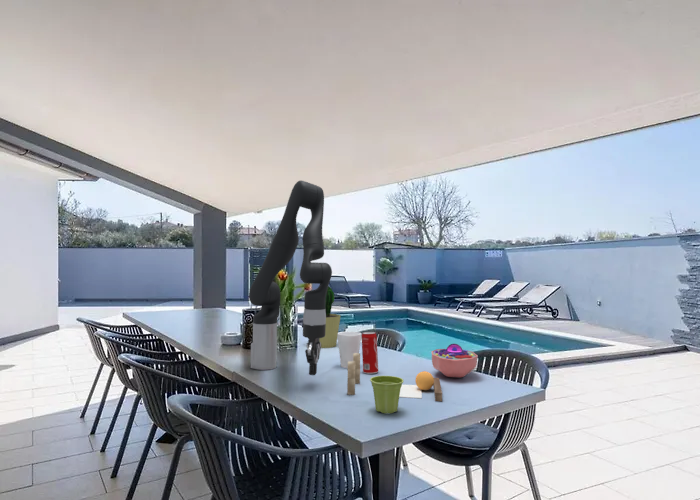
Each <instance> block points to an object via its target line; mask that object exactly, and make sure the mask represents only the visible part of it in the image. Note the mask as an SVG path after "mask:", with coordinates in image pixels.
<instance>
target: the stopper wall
mask: <svg viewBox="0 0 700 500" xmlns="http://www.w3.org/2000/svg"><path fill="white" fill-rule="evenodd" d="M433 378H434V384H433V386H432V388H433V392H434V393H433V394H434V401H435V402H443V391H442V385H441V381H440V377H433Z"/></svg>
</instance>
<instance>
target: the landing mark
mask: <svg viewBox="0 0 700 500" xmlns="http://www.w3.org/2000/svg"><path fill="white" fill-rule="evenodd" d="M422 391H423V390H421V389H420V388H418V386H417V385H416V384H403V383H402V386H401V389H400V395H399V398H408V399H422V398H423V396H422V395H423V393H422Z"/></svg>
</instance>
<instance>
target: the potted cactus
mask: <svg viewBox="0 0 700 500" xmlns="http://www.w3.org/2000/svg"><path fill="white" fill-rule="evenodd" d="M331 286H332V285H331ZM331 286H330V285H328V289H327V293H326V305H325V312H326V329H325V337H323V338H319V339H320V341H319V342H321V349H330V348H335V347H337V342H338V339H337V333H339V330H340V329H339V328H340V322H341V315H340V314H336V313H332V309H334V308H333V306H334V305H333V304H334V303H335V296H336V294H335V291H334V290H333V287H331Z"/></svg>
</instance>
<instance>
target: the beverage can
mask: <svg viewBox="0 0 700 500" xmlns="http://www.w3.org/2000/svg"><path fill="white" fill-rule="evenodd" d="M377 337H378V336H377V332H376V331H364V332H362V333H361V355H362V356H361V357H362V358H361V359H362V372H363V374H367V375H370V374H371V375H372V374H377V373H378V372H379V357H378V356H379V355H378V338H377Z"/></svg>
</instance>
